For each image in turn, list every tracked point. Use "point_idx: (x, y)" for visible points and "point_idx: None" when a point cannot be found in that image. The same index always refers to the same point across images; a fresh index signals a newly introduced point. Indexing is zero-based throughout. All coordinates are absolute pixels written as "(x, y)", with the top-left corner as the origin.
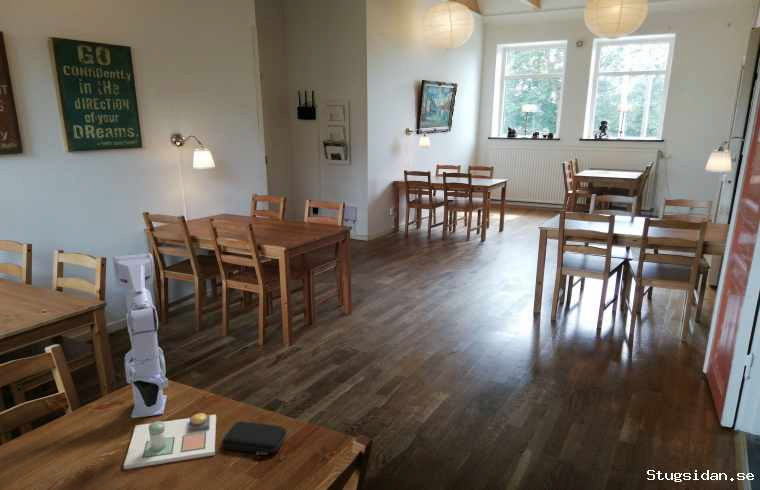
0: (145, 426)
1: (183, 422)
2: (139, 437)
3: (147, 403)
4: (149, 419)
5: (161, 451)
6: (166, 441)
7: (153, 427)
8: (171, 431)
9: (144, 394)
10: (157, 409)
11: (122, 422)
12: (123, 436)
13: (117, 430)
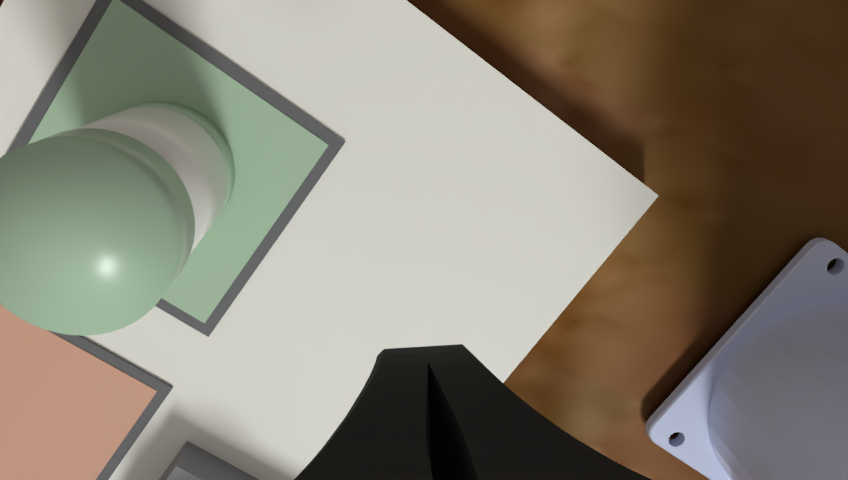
0: (570, 245)
1: None
2: (455, 127)
3: (371, 377)
4: (673, 325)
5: None
6: (197, 256)
7: (52, 193)
8: (311, 355)
9: (357, 473)
10: (714, 429)
11: (836, 154)
12: (636, 56)
13: (766, 65)
